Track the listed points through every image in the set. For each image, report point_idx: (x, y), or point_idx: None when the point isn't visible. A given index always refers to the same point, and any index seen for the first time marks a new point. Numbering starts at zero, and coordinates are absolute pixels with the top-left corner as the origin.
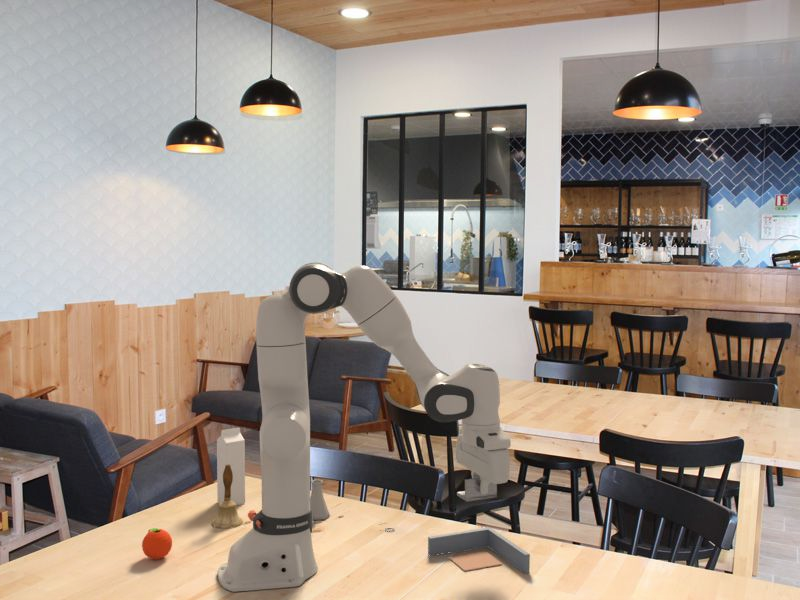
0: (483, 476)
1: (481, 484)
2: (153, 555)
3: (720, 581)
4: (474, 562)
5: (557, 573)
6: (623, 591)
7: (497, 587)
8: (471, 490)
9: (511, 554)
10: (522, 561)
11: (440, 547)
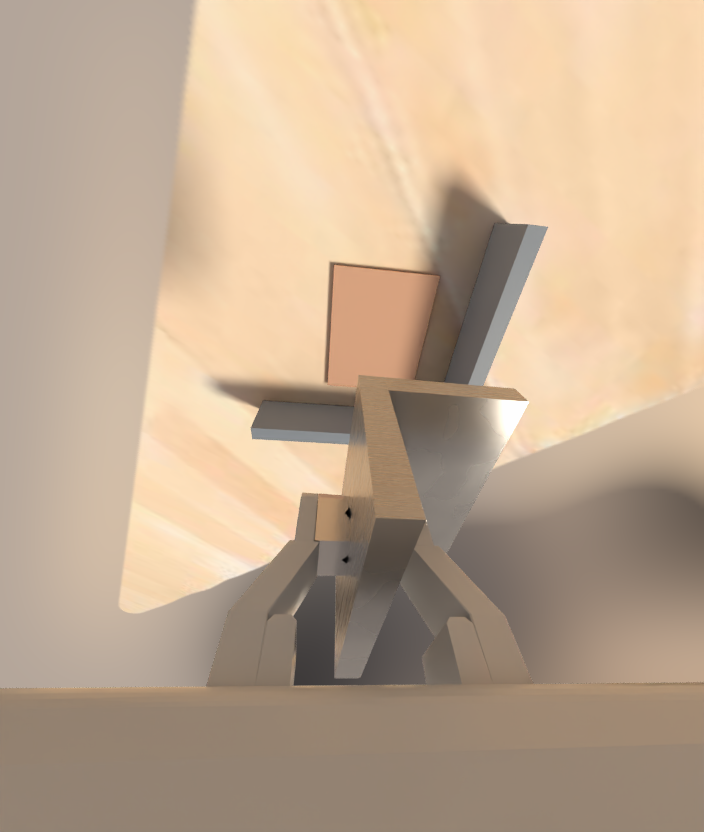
0: (38, 732)
1: (276, 565)
2: None
3: (161, 585)
4: (367, 326)
5: (243, 452)
6: (141, 494)
7: (202, 292)
8: (356, 464)
9: (322, 417)
10: (269, 415)
11: (490, 270)
